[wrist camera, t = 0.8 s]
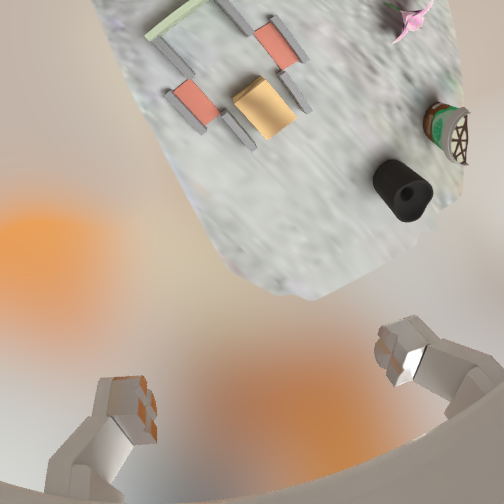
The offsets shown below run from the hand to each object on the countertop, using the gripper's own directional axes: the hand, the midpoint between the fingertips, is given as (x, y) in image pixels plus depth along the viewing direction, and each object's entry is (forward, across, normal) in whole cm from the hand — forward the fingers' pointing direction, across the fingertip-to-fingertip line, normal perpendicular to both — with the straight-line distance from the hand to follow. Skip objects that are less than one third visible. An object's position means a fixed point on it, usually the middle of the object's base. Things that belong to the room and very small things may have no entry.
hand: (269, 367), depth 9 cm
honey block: (+44, -11, -9) cm, 46 cm away
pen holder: (+46, -38, +6) cm, 60 cm away
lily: (+38, -36, -26) cm, 58 cm away
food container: (+42, -46, -6) cm, 63 cm away
